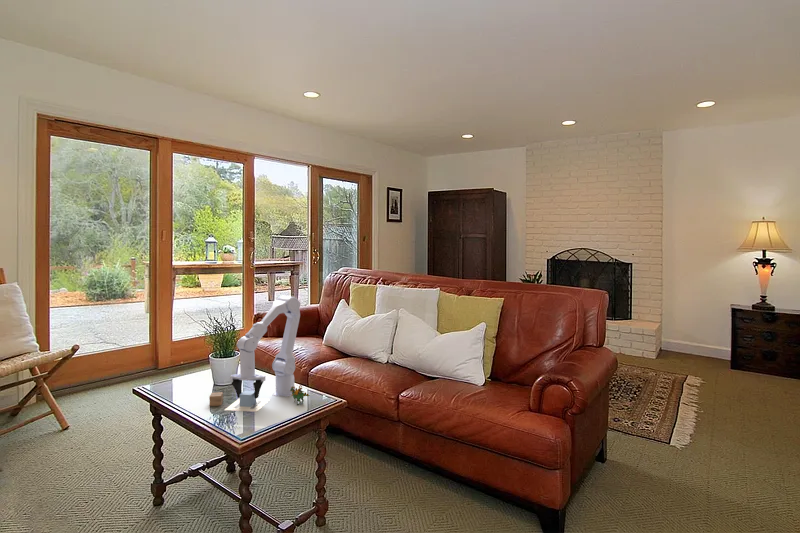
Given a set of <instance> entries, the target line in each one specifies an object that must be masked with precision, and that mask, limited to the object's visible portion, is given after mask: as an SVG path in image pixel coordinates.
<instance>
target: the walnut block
mask: <svg viewBox="0 0 800 533" xmlns="http://www.w3.org/2000/svg"><path fill="white" fill-rule="evenodd" d="M208 398H209V399H208V400H209V407H216V406H222V404H223V402H224V392H222V391H221V392H218V391H217V392H211V394H210V395H209V397H208Z"/></svg>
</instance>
